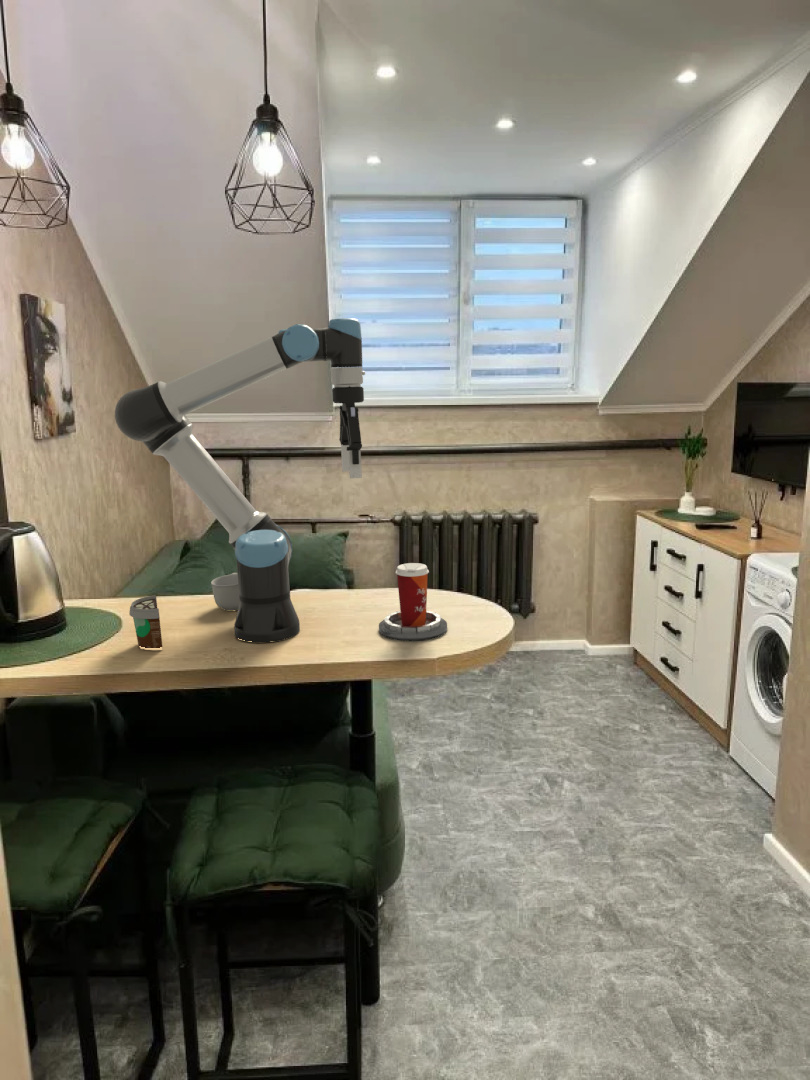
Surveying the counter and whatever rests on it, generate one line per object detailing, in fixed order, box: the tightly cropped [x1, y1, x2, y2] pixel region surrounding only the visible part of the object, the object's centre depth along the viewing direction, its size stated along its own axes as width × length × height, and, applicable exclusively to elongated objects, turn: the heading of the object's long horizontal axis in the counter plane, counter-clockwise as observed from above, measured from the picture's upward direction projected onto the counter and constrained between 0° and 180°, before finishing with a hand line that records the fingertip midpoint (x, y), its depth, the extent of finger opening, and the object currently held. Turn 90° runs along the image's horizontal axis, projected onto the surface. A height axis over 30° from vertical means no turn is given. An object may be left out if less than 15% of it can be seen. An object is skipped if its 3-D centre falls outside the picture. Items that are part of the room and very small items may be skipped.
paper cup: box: [395, 562, 430, 626], centre depth 174 cm, size 8×8×14 cm
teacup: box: [210, 572, 240, 611], centre depth 197 cm, size 14×11×8 cm
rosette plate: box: [378, 610, 448, 642], centre depth 176 cm, size 16×16×3 cm
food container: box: [129, 594, 163, 648], centre depth 170 cm, size 12×6×10 cm, turn 21°
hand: (351, 474), depth 184 cm, fingers open, 13 cm apart
